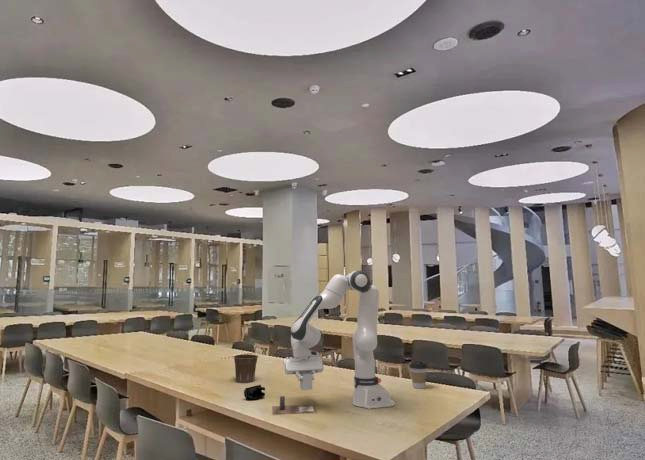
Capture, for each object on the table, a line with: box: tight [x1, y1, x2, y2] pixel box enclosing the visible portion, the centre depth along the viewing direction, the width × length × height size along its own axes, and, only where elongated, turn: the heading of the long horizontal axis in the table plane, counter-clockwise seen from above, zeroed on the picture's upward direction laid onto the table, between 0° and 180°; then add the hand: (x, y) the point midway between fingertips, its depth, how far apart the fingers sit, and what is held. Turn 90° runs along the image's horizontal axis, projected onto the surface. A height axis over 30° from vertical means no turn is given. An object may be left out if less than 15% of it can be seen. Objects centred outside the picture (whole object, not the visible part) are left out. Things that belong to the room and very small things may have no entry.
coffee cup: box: [408, 361, 428, 390], centre depth 251 cm, size 11×11×15 cm
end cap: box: [243, 384, 266, 402], centre depth 227 cm, size 10×7×7 cm
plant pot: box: [233, 353, 259, 384], centre depth 270 cm, size 16×16×16 cm
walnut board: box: [271, 395, 318, 416], centre depth 203 cm, size 22×14×8 cm, turn 97°
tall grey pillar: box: [299, 372, 313, 391], centre depth 204 cm, size 5×5×8 cm
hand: (306, 380), depth 203 cm, fingers closed on tall grey pillar, 5 cm apart
